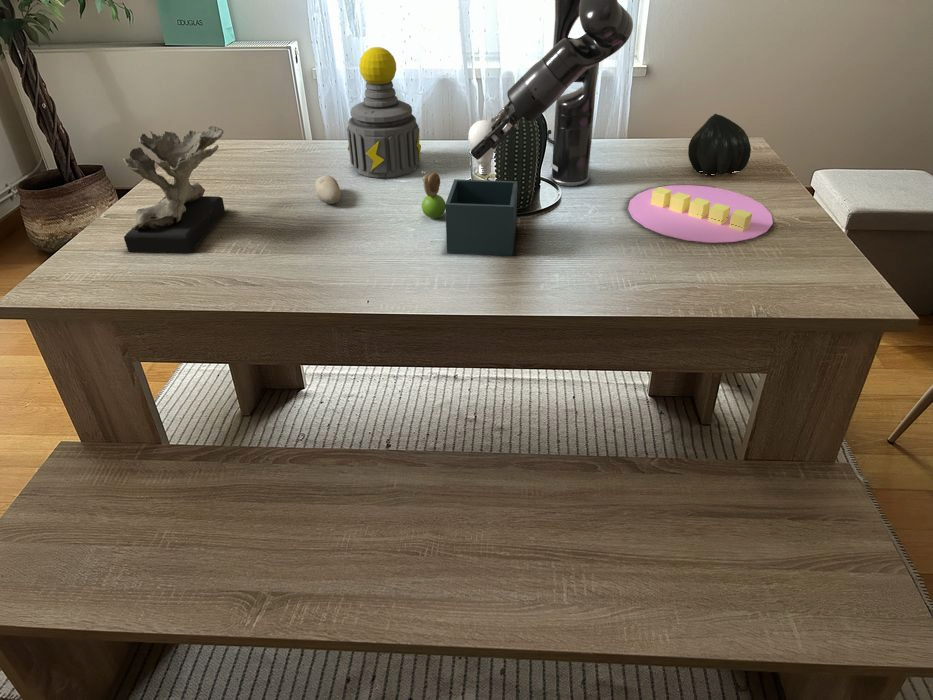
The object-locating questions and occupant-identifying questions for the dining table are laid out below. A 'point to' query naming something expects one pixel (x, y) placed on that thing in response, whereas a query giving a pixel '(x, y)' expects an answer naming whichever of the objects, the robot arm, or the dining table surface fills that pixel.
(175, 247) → the coral
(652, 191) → the platter
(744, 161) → the squash
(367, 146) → the decorative lamp
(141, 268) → the dining table surface
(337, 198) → the stone
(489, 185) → the trash bin
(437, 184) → the green ball figurine
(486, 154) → the lightbulb
